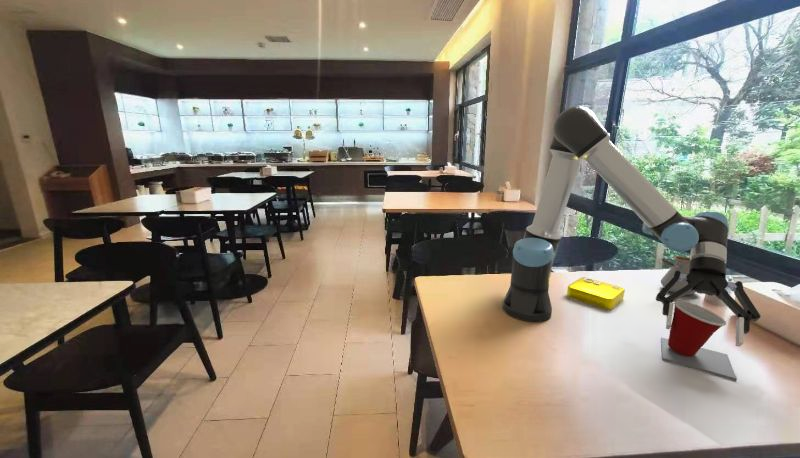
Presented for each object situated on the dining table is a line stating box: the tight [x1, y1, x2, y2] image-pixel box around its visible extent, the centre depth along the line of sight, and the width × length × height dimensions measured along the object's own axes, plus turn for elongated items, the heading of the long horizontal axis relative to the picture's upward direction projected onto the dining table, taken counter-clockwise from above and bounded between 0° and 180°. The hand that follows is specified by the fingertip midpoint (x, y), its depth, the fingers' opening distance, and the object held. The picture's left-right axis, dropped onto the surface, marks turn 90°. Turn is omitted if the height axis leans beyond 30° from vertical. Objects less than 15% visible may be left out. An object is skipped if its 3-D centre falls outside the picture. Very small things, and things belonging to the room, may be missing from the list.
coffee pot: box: [657, 256, 697, 296], centre depth 129 cm, size 21×12×15 cm, turn 116°
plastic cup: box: [668, 299, 727, 356], centre depth 90 cm, size 11×11×12 cm
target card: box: [660, 337, 737, 381], centre depth 90 cm, size 14×12×1 cm
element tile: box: [566, 276, 626, 310], centre depth 126 cm, size 15×15×5 cm
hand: (702, 335), depth 87 cm, fingers open, 13 cm apart
